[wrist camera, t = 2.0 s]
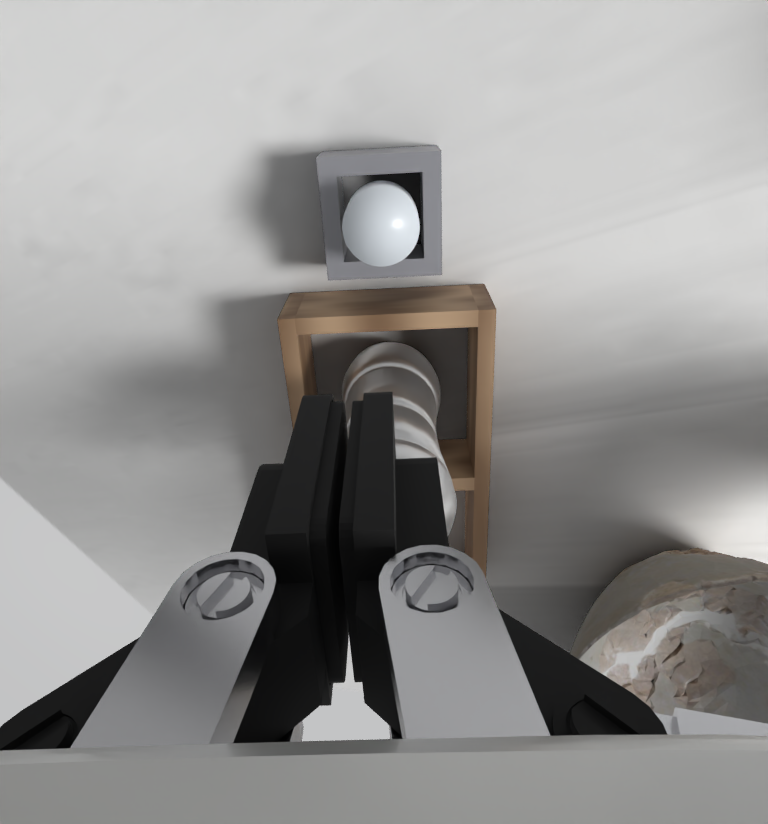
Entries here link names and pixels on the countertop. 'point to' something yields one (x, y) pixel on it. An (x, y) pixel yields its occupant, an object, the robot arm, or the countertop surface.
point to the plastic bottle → (404, 404)
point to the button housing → (375, 162)
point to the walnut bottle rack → (411, 313)
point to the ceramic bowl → (684, 633)
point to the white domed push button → (381, 223)
